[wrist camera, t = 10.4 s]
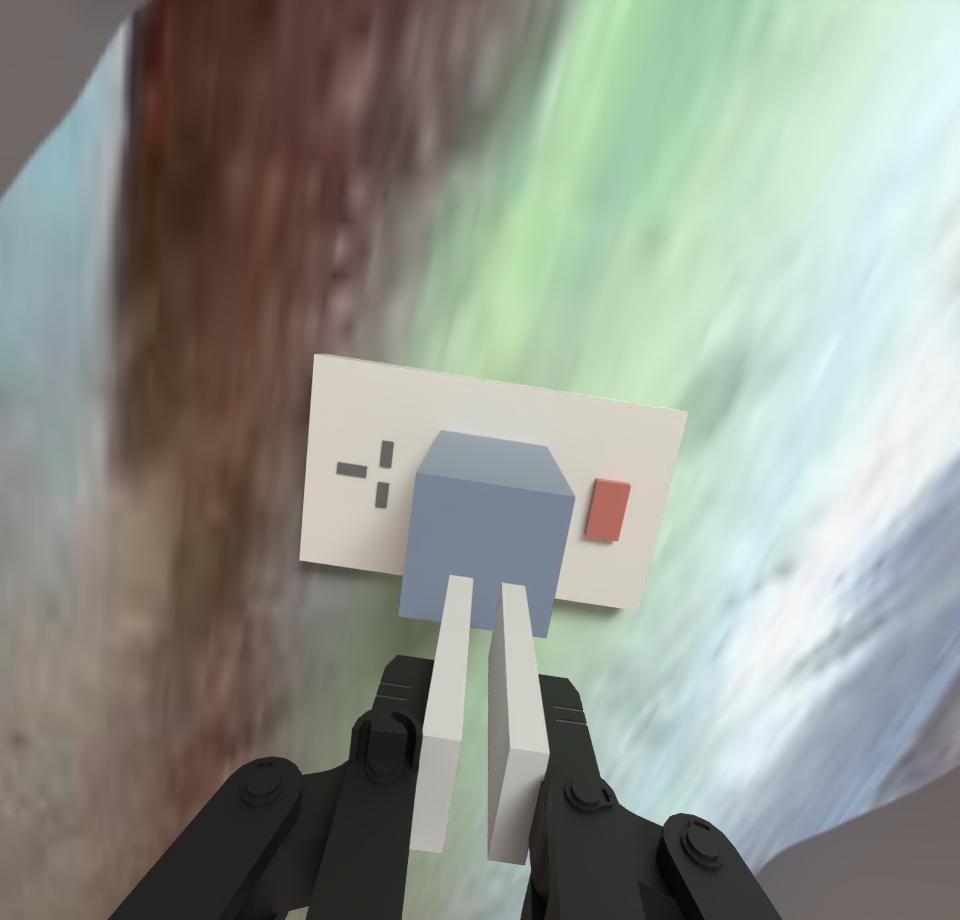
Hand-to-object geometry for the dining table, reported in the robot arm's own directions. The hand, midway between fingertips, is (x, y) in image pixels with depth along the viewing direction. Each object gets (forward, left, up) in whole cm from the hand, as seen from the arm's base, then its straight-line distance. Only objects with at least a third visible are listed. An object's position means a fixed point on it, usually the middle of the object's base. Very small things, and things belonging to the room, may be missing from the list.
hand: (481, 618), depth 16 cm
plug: (0, 0, -16) cm, 16 cm away
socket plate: (0, 0, -16) cm, 16 cm away
